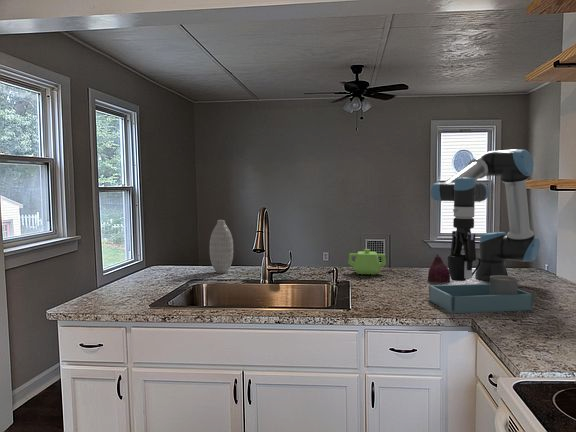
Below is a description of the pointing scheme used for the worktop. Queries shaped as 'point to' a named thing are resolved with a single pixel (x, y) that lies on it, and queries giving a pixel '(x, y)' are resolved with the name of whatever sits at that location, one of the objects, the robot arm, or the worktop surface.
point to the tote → (477, 299)
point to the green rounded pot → (367, 262)
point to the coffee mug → (503, 285)
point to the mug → (458, 266)
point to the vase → (221, 247)
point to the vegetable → (438, 271)
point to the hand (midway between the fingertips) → (462, 276)
